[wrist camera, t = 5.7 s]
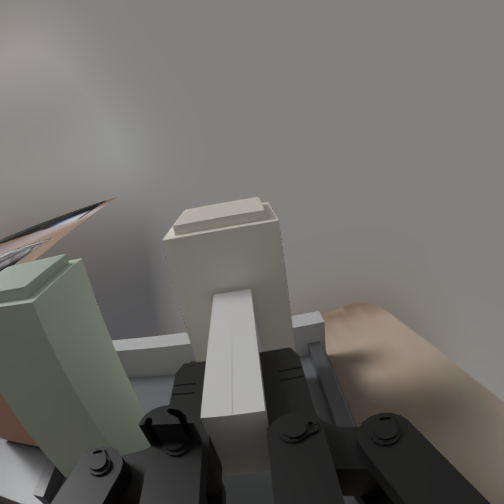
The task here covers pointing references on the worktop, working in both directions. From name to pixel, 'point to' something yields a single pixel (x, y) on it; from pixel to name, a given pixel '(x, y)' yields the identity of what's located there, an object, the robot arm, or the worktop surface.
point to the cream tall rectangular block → (230, 268)
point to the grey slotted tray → (158, 394)
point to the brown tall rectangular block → (12, 426)
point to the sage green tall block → (63, 364)
